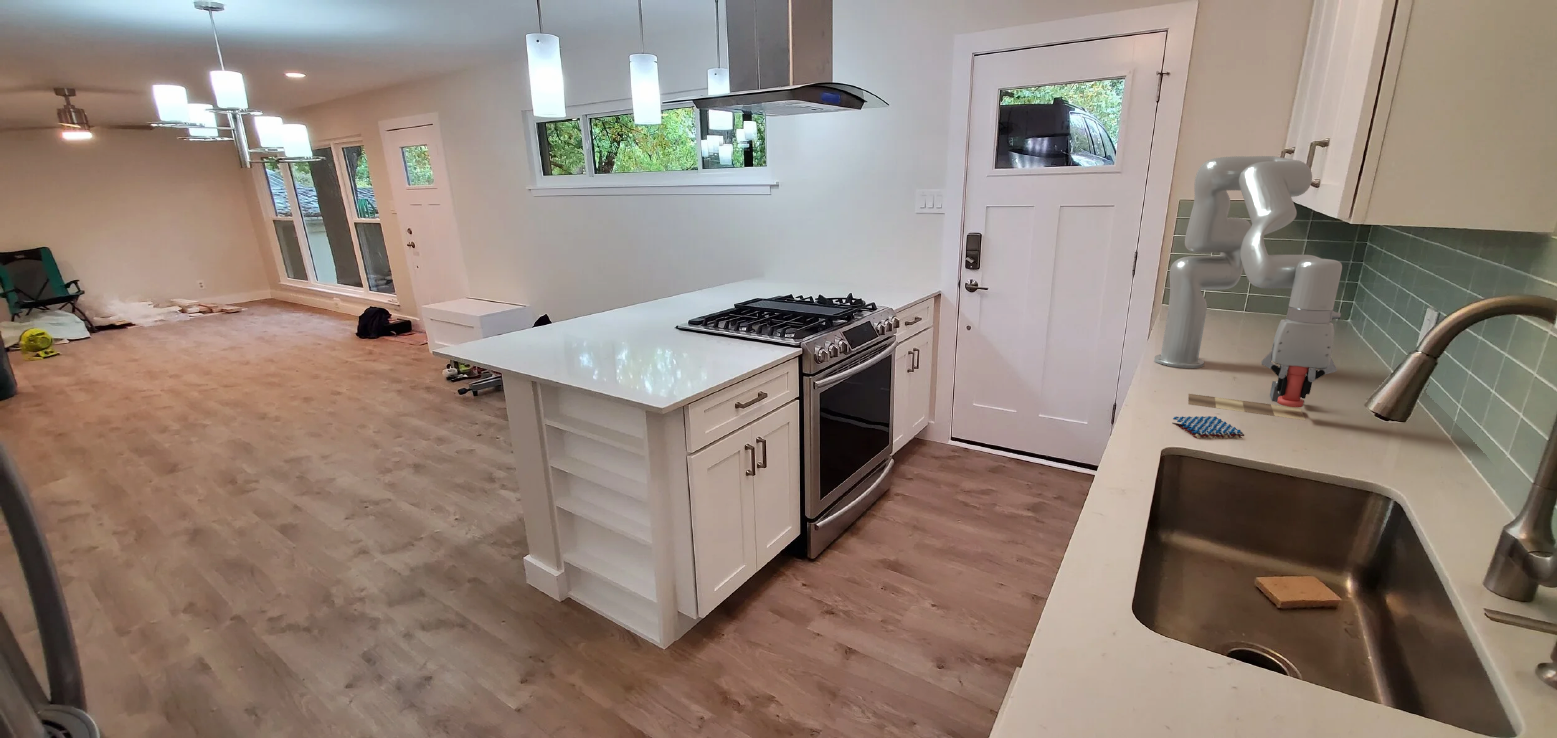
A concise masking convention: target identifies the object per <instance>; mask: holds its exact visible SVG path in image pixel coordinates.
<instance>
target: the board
mask: <svg viewBox="0 0 1557 738" xmlns="http://www.w3.org/2000/svg"><path fill="white" fill-rule="evenodd" d="M1187 396H1188V399H1187V400H1188V402H1187V403H1188V405H1189V406H1190V405H1191V406H1198V407H1205V408H1212V409H1213V408H1214V409H1221V410H1228V411H1235V412H1242V413H1248V414H1249V413H1250V414H1256V415H1257V414H1258V415H1265V416H1271V417H1277V418H1279V417H1280V418H1285V419H1286V418H1287V419H1293V420H1301V421H1306V418H1305V415H1304V414H1303V411H1302V409H1301V407H1288V406H1283V405H1280V404H1279V405H1278V404H1271V403H1265V402H1256V401H1249V400H1248V401H1247V400H1242V399H1241V400H1239V399H1232V398H1225V397H1217V396H1209V395H1202V394H1194V393H1188V395H1187Z"/></svg>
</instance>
